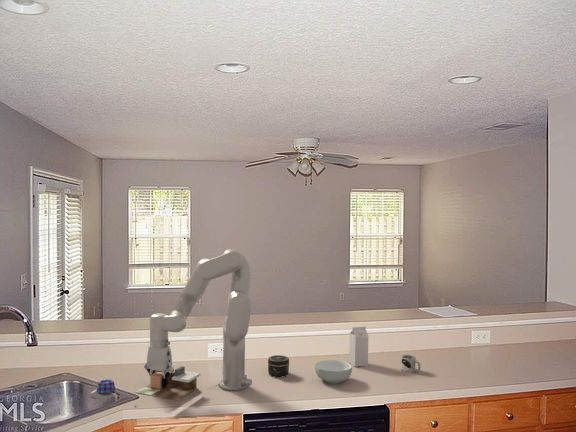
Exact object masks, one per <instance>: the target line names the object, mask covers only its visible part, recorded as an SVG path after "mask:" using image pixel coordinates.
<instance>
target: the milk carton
mask: <svg viewBox="0 0 576 432" xmlns="http://www.w3.org/2000/svg"><path fill="white" fill-rule="evenodd" d="M367 331H368V330H367V329H366V326H354V327H352V329H351V331H350V332H349V344H348V345H349V347H348V349H349V351H348V356H349V357H348V363H349V364H350V363H351V365H352V367H354V366H355V367H354V368H359V367H358V366H361V367H368V366H369V335H368V332H367Z"/></svg>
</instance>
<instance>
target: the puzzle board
mask: <svg viewBox="0 0 576 432" xmlns="http://www.w3.org/2000/svg"><path fill="white" fill-rule="evenodd" d="M157 372H161V371H157V370H156V372H155V373H157ZM173 376H175V371H173V372H172V373H171V374H170V375H169V376H168V384H167V386H165V387H164V388H161V389H157V388H152V387H150V383H149V384H148V385H146V386H143V387H142V388H140V389H138V390H136V391H134V392H133V393H135V394H139V395H145V396H150V397H154V398H159V399H165V400H169V401H175V402H177V401H179V400H182V398H184V397H186V396H187V395H188V394H191V393H192V392H193V391H195V390H197V389H198V388H197V385H198V383H197V382H198V380H197V379H198V377H197V378H196V379H194V380H192V381H190V382H189V383H188V382H182V381H176V380H172V377H173Z"/></svg>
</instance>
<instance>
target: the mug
mask: <svg viewBox="0 0 576 432" xmlns="http://www.w3.org/2000/svg"><path fill="white" fill-rule="evenodd" d="M400 364H401V365H400V366H401V368H400V369H401V371H402V370H403V371H405V372H404V373H407V372H413V373H415V372H417V373H418V372H420V371H421V362H420V361H419V360H417V359H416V356H414V355H410V354H403V355H401V363H400ZM416 364H417V367H418V368H416ZM403 371H402V372H403ZM414 371H415V372H414Z"/></svg>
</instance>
